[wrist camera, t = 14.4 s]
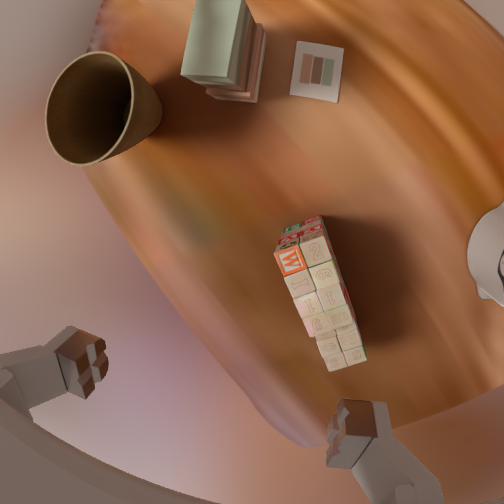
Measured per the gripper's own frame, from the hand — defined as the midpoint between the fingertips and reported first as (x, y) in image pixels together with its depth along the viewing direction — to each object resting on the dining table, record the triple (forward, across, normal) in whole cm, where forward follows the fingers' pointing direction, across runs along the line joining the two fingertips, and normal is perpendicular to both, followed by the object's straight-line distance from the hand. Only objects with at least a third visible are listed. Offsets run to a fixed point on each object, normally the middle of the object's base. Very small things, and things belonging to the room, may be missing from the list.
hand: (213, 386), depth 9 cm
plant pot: (+39, +25, -10) cm, 48 cm away
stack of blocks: (+40, -8, +12) cm, 42 cm away
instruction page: (+39, -1, -20) cm, 44 cm away
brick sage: (+28, +10, -19) cm, 35 cm away
